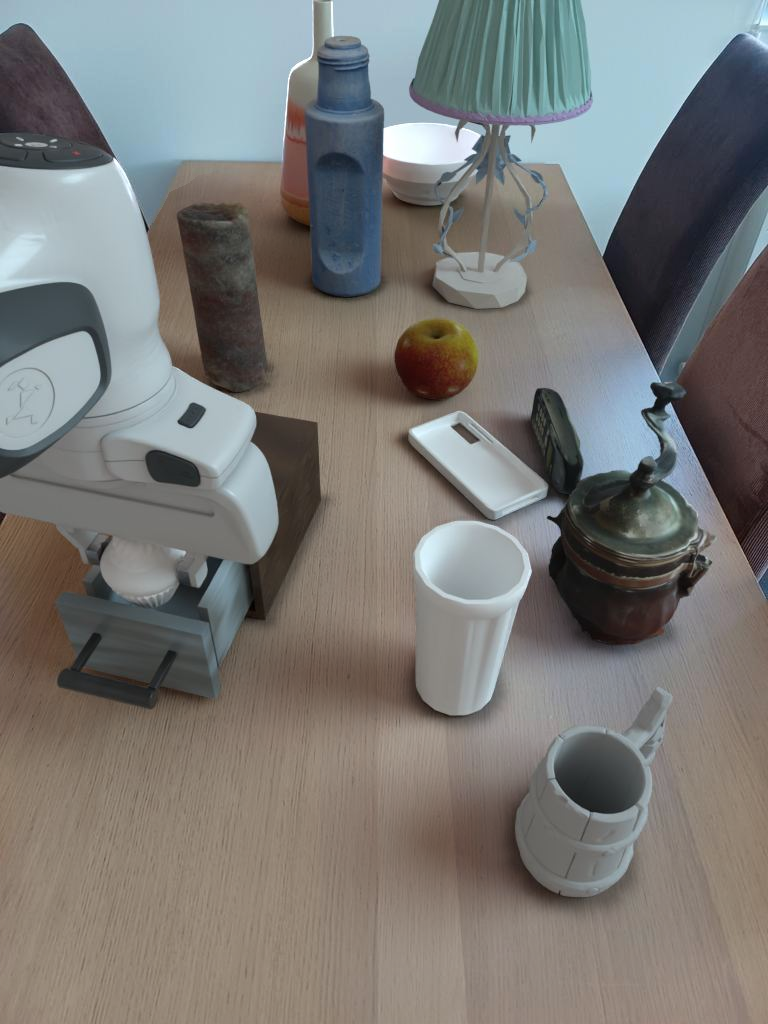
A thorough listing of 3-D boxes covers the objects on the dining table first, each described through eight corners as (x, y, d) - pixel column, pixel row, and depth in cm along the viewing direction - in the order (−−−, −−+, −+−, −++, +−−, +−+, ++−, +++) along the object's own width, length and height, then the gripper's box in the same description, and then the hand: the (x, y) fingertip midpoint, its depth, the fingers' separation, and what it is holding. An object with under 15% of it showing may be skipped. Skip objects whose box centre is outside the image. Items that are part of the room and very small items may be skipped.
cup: (502, 737, 60) (529, 615, 51) (395, 719, 61) (402, 596, 51) (508, 651, 66) (534, 527, 56) (411, 636, 67) (420, 511, 57)
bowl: (506, 194, 136) (513, 143, 131) (431, 228, 126) (434, 174, 120) (421, 163, 146) (423, 115, 140) (344, 192, 135) (343, 141, 130)
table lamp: (542, 252, 120) (596, -76, 93) (570, 326, 105) (646, -43, 77) (397, 251, 120) (409, -81, 92) (404, 326, 104) (421, -48, 76)
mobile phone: (531, 384, 86) (567, 471, 75) (558, 383, 87) (598, 470, 75) (525, 422, 90) (558, 511, 78) (551, 421, 90) (588, 509, 79)
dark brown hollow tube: (190, 381, 94) (161, 212, 80) (227, 352, 98) (206, 188, 85) (244, 400, 91) (224, 229, 77) (280, 369, 96) (266, 202, 82)
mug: (488, 842, 54) (511, 748, 46) (592, 737, 60) (629, 638, 52) (580, 930, 50) (623, 844, 42) (681, 808, 57) (736, 713, 48)
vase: (333, 191, 135) (328, -16, 115) (391, 219, 128) (397, 2, 108) (263, 214, 128) (245, -3, 108) (321, 245, 121) (313, 17, 100)
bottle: (386, 269, 115) (392, 31, 95) (373, 302, 108) (377, 53, 88) (321, 262, 116) (313, 25, 96) (304, 295, 109) (292, 46, 89)
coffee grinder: (673, 546, 76) (734, 385, 63) (683, 673, 65) (758, 510, 53) (537, 524, 77) (570, 364, 65) (525, 645, 67) (562, 481, 54)
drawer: (189, 753, 58) (172, 690, 53) (47, 717, 60) (16, 653, 54) (280, 565, 72) (273, 500, 66) (162, 540, 73) (146, 475, 68)
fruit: (379, 396, 92) (381, 335, 87) (411, 358, 98) (415, 299, 93) (457, 419, 89) (464, 357, 84) (485, 378, 95) (493, 318, 90)
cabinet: (265, 620, 68) (255, 540, 62) (129, 590, 70) (105, 509, 64) (321, 500, 79) (317, 422, 73) (202, 477, 81) (188, 399, 75)
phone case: (405, 439, 86) (491, 522, 77) (405, 429, 86) (492, 512, 76) (460, 418, 89) (549, 496, 80) (461, 408, 89) (551, 485, 79)
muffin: (156, 637, 57) (138, 570, 52) (92, 603, 59) (69, 536, 55) (211, 581, 61) (198, 514, 56) (149, 551, 63) (132, 484, 59)
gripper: (-77, 415, 49) (-7, 571, 58) (241, 476, 45) (261, 631, 55) (-14, 361, 53) (41, 514, 62) (279, 412, 50) (291, 566, 59)
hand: (146, 569), depth 58 cm, fingers closed on muffin, 6 cm apart
